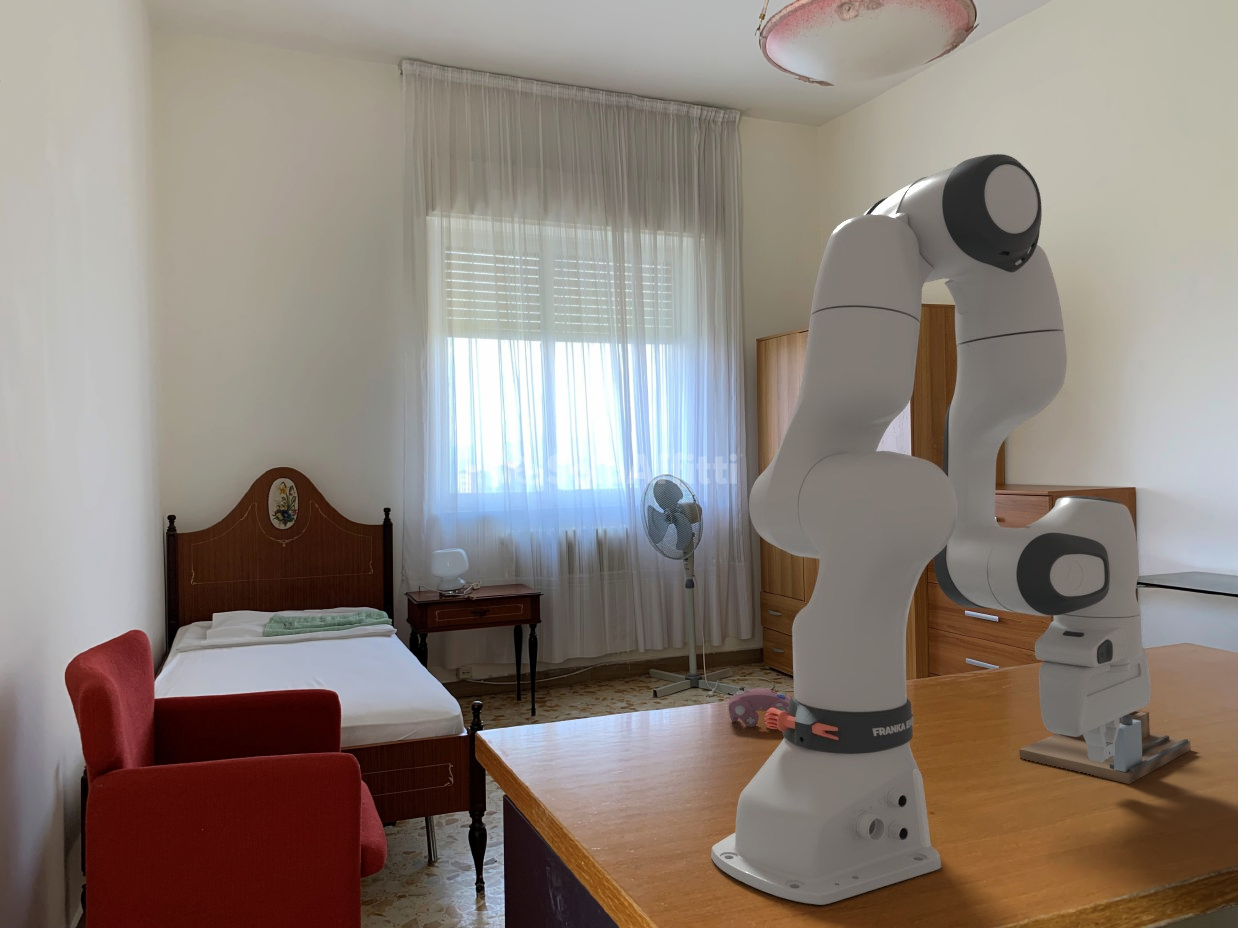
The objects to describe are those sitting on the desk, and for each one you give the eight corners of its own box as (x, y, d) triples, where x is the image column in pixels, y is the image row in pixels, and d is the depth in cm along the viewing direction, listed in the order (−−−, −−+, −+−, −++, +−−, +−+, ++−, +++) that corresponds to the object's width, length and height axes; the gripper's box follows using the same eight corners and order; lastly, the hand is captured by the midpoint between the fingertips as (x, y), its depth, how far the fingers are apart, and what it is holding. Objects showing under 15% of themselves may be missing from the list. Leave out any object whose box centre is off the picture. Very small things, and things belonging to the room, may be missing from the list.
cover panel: (1124, 771, 103) (1122, 720, 103) (1114, 769, 104) (1112, 718, 104) (1142, 762, 106) (1140, 712, 106) (1131, 760, 107) (1129, 710, 107)
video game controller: (728, 736, 131) (725, 699, 128) (730, 715, 135) (727, 679, 132) (796, 738, 129) (794, 701, 126) (796, 717, 133) (794, 680, 130)
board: (1131, 784, 102) (1130, 748, 103) (1019, 758, 113) (1018, 725, 113) (1193, 750, 114) (1191, 717, 114) (1086, 729, 125) (1085, 699, 125)
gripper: (1107, 623, 110) (1111, 734, 110) (1026, 646, 97) (1031, 772, 97) (1163, 628, 105) (1168, 745, 105) (1086, 653, 92) (1091, 786, 92)
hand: (1101, 758), depth 101 cm, fingers closed
